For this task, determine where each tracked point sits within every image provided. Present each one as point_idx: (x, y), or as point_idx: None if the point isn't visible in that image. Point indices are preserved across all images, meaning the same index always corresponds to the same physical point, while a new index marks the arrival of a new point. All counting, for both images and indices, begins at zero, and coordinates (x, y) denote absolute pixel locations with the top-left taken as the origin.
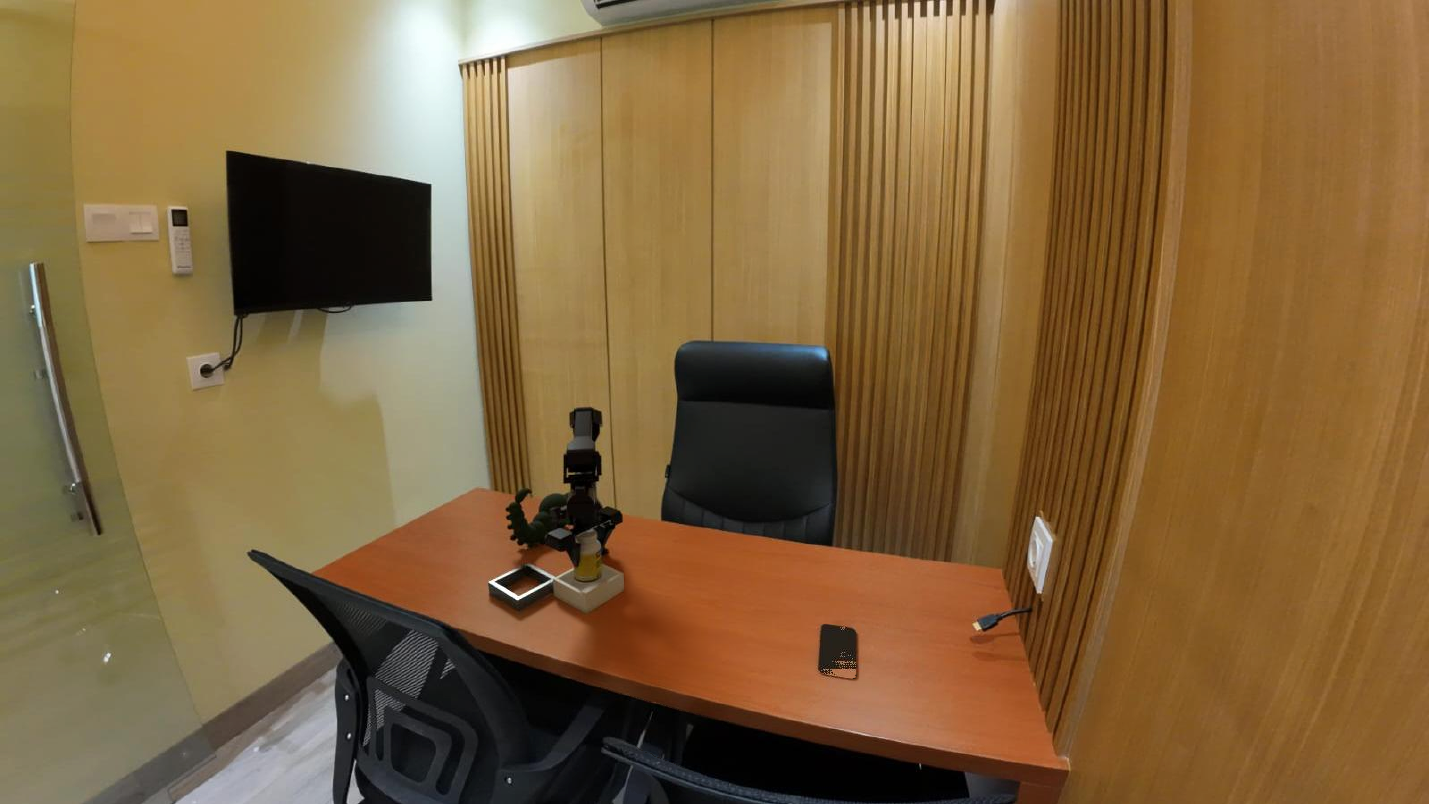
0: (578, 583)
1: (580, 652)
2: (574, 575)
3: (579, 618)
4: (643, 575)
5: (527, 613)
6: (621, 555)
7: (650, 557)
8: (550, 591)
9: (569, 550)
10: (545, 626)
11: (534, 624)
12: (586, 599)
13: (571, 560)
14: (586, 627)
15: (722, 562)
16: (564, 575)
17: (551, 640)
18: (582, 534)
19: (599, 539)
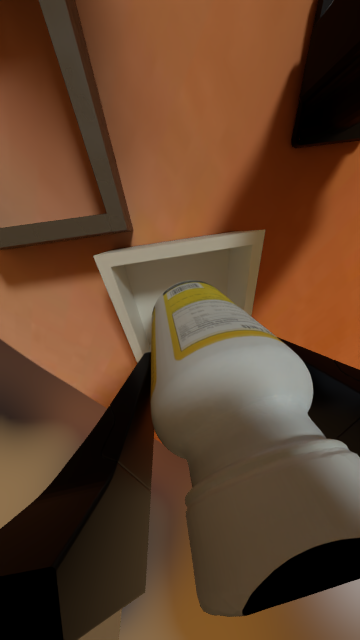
0: (180, 258)
1: (103, 395)
2: (152, 315)
3: (130, 347)
4: (280, 314)
5: (29, 272)
6: (345, 203)
7: (347, 271)
8: (103, 234)
9: (50, 594)
10: (67, 334)
11: (44, 317)
12: None
13: (131, 376)
14: (130, 367)
15: (349, 354)
16: (139, 261)
17: (71, 365)
18: (264, 585)
19: (316, 404)
